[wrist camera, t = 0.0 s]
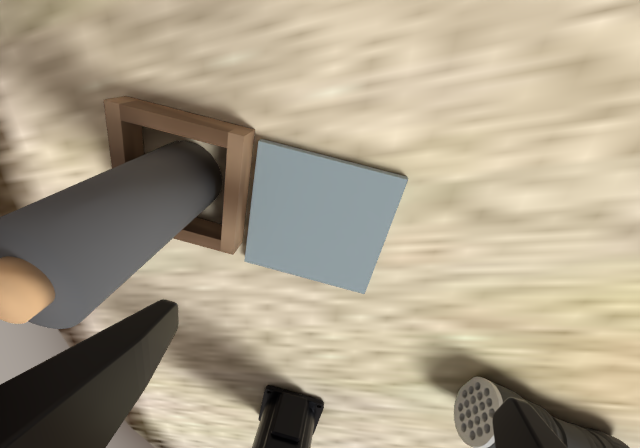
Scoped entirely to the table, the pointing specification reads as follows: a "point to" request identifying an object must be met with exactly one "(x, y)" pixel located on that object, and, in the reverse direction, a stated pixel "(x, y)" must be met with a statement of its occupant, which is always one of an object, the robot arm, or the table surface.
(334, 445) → the table surface
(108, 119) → the brown square frame
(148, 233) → the grey jar with lid
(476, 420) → the flashlight
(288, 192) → the mat
